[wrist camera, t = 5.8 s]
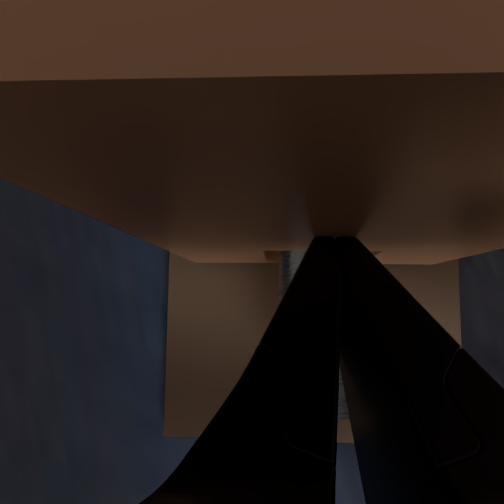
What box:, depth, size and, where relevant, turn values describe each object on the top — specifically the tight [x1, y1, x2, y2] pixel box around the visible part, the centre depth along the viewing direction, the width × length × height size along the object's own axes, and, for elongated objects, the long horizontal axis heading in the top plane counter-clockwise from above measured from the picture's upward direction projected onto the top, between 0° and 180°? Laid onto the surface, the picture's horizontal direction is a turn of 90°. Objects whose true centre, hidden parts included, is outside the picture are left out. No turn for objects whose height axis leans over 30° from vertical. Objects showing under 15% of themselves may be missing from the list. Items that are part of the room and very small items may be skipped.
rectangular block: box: [0, 0, 504, 265], centre depth 9 cm, size 5×8×13 cm, turn 89°
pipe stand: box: [164, 252, 461, 443], centre depth 13 cm, size 15×10×7 cm, turn 179°
